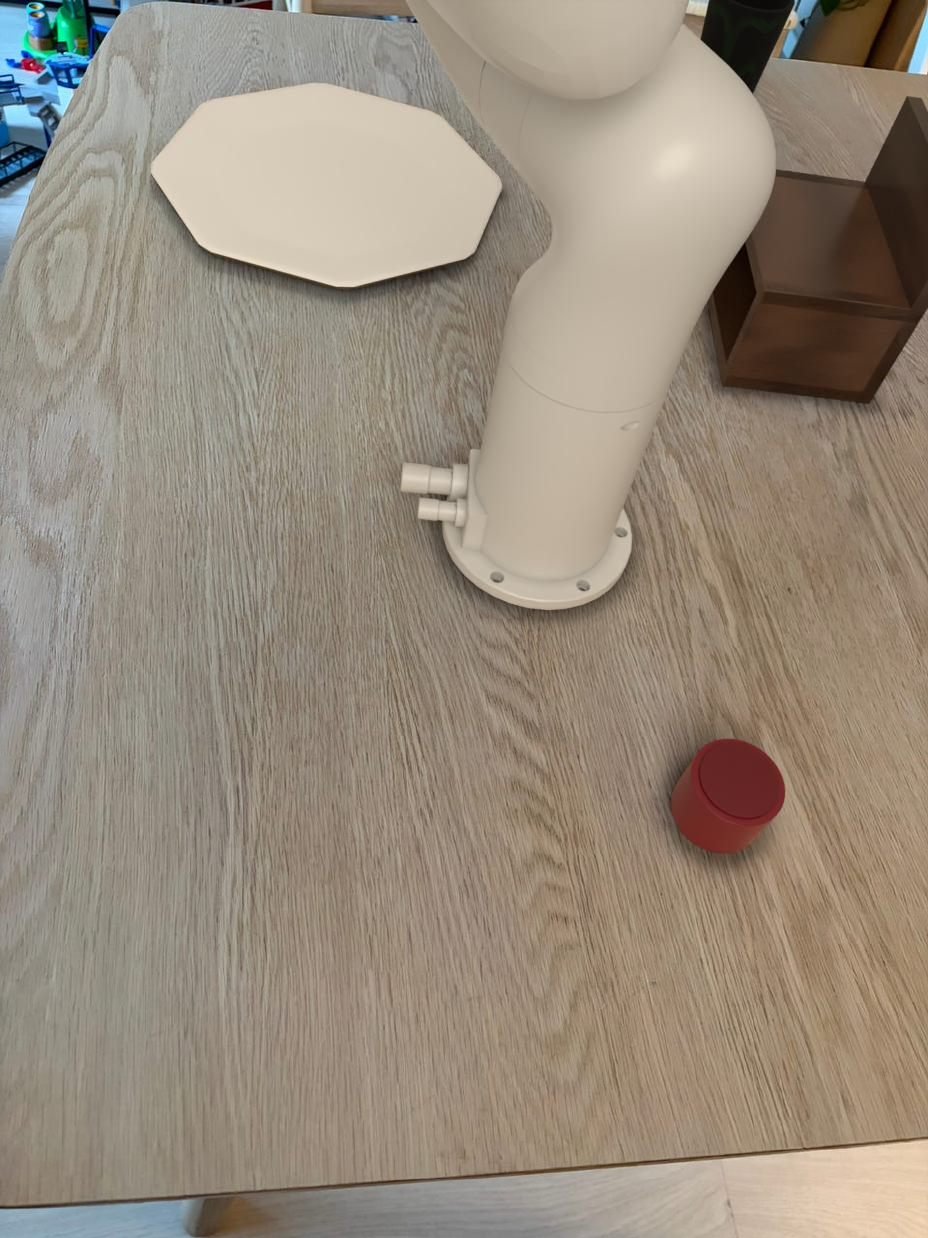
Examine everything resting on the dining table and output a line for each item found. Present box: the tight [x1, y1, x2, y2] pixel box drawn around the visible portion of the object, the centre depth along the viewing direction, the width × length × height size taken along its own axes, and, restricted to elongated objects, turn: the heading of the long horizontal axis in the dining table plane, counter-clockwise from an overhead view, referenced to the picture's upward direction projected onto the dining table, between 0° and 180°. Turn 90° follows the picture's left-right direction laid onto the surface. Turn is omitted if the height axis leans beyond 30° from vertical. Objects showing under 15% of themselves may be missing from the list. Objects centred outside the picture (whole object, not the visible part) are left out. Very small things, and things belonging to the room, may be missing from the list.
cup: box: [699, 0, 796, 95], centre depth 98 cm, size 8×8×12 cm
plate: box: [150, 82, 503, 290], centre depth 87 cm, size 28×28×2 cm
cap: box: [670, 738, 786, 855], centre depth 57 cm, size 5×5×4 cm
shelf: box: [706, 95, 928, 405], centre depth 78 cm, size 12×16×16 cm
